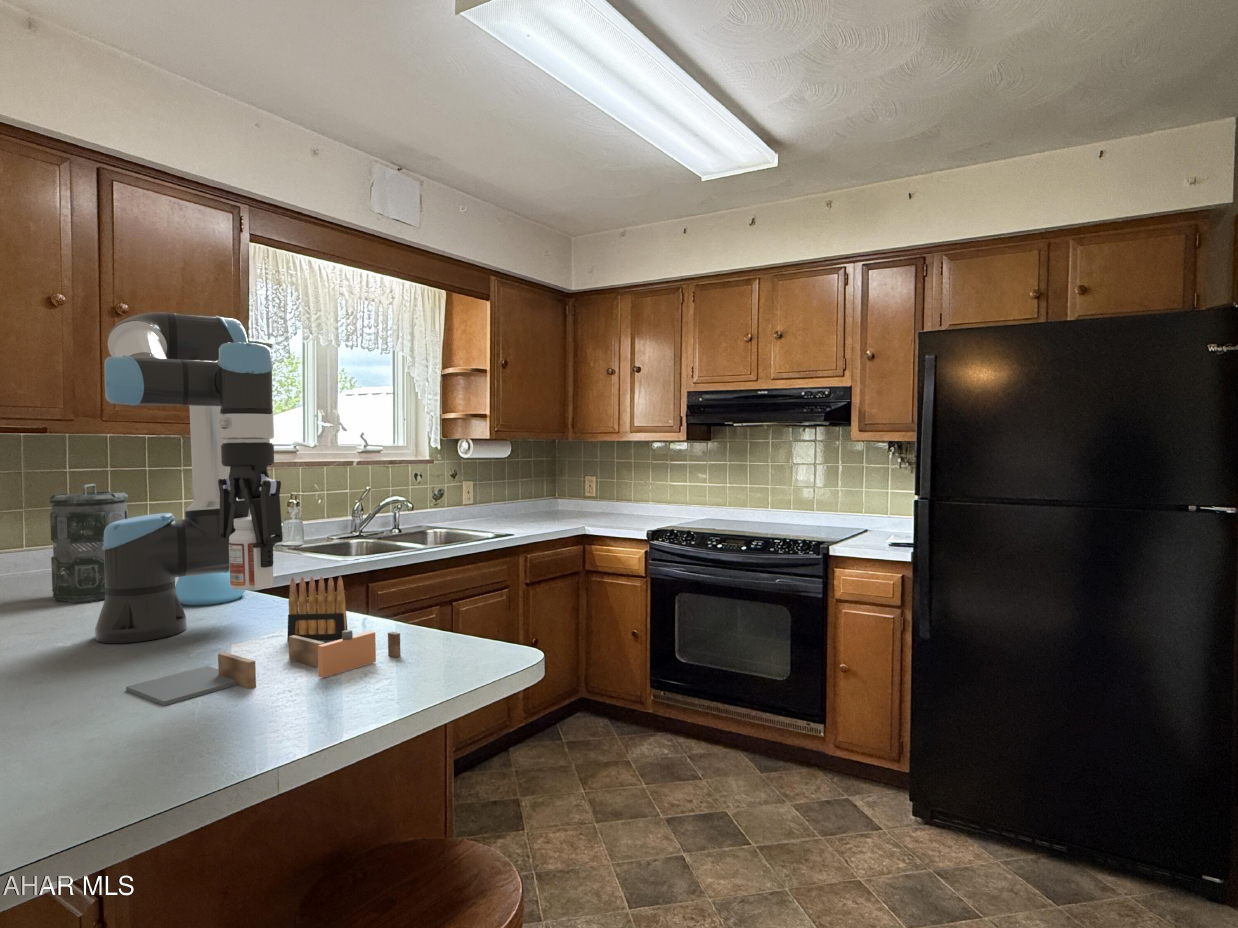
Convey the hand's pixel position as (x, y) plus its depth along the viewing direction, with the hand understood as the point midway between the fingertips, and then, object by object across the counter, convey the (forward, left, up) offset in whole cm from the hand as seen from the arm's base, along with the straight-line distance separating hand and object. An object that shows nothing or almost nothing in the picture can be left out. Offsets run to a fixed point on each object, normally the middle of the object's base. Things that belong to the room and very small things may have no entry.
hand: (251, 584), depth 117 cm
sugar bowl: (-66, +26, -15) cm, 72 cm away
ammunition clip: (-11, +18, -15) cm, 26 cm away
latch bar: (+11, +10, -15) cm, 21 cm away
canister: (-95, +12, -15) cm, 96 cm away
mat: (-4, -9, -15) cm, 17 cm away
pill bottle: (0, 0, -1) cm, 1 cm away
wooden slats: (+4, +8, -15) cm, 17 cm away
